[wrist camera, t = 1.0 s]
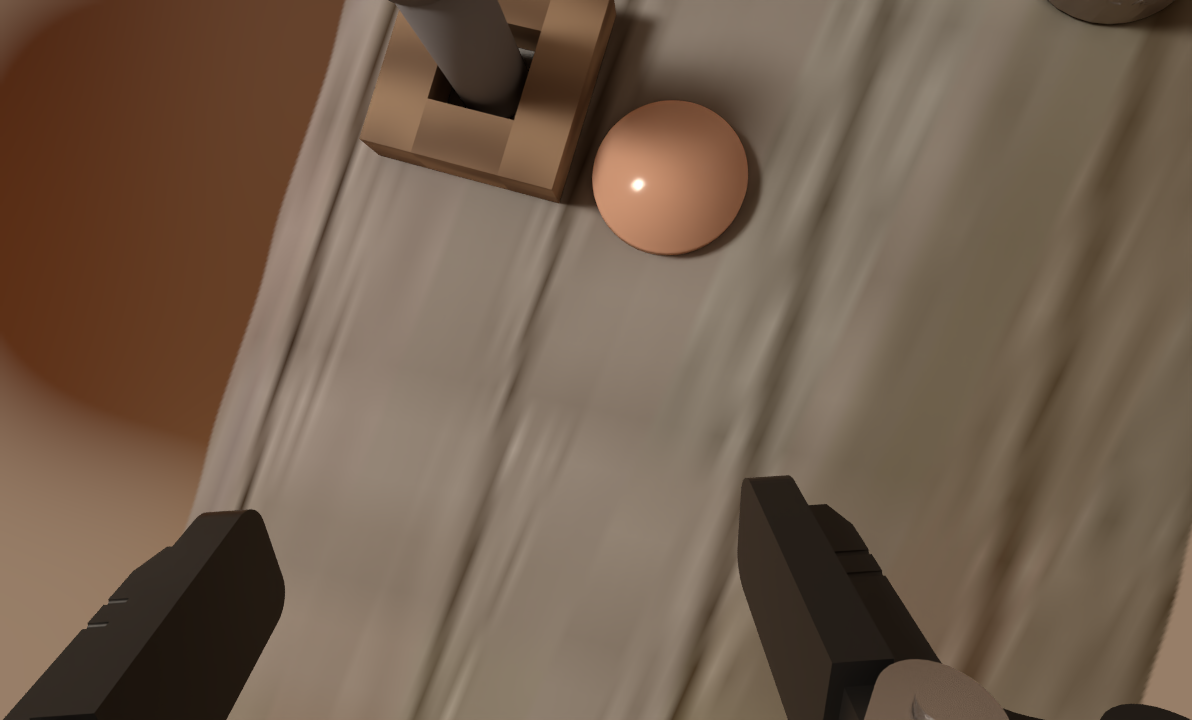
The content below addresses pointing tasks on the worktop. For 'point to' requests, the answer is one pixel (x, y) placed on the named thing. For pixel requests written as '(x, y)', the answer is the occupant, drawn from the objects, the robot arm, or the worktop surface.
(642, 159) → the orange round disc
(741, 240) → the worktop surface
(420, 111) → the brown wooden square frame
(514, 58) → the plug
